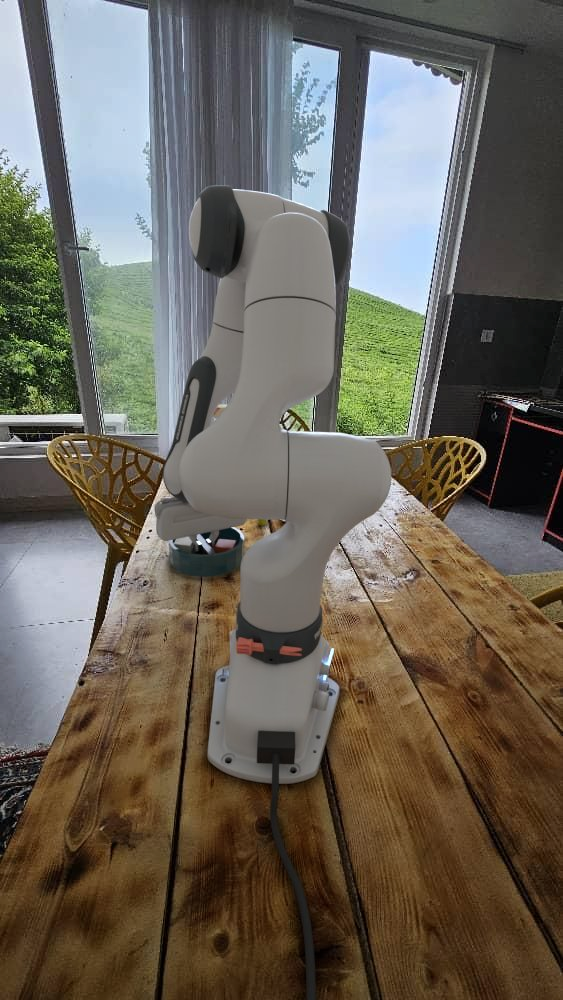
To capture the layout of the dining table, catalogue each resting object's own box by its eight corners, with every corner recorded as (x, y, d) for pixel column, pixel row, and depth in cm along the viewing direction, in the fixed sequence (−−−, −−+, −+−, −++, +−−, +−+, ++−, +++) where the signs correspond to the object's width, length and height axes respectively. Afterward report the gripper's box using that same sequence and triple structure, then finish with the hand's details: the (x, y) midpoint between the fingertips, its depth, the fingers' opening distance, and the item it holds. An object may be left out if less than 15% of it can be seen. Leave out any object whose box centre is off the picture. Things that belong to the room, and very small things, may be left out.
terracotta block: (232, 564, 99) (232, 548, 97) (214, 562, 99) (214, 546, 98) (236, 555, 103) (236, 540, 101) (219, 554, 103) (219, 538, 101)
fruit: (263, 532, 116) (264, 514, 114) (255, 531, 116) (255, 513, 114) (269, 516, 125) (269, 500, 124) (262, 515, 126) (262, 499, 124)
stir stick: (217, 565, 97) (217, 553, 96) (210, 567, 96) (210, 555, 95) (198, 543, 106) (198, 531, 105) (192, 544, 105) (191, 533, 104)
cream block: (191, 560, 100) (190, 545, 98) (174, 559, 100) (172, 544, 98) (196, 551, 103) (195, 536, 101) (179, 549, 104) (178, 535, 102)
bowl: (234, 582, 93) (234, 559, 91) (158, 574, 95) (157, 552, 93) (250, 546, 108) (250, 526, 106) (184, 540, 110) (183, 519, 108)
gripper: (158, 504, 88) (162, 565, 93) (250, 489, 98) (250, 545, 103) (149, 494, 93) (154, 552, 98) (238, 480, 103) (238, 534, 108)
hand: (204, 548), depth 100 cm, fingers closed on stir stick, 2 cm apart
